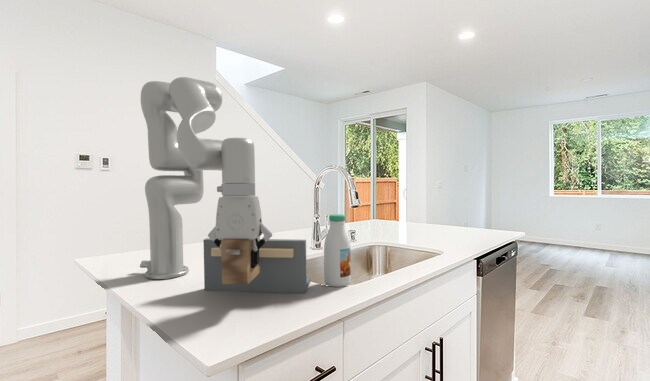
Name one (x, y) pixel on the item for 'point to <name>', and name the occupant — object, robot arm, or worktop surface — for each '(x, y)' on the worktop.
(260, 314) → the worktop surface
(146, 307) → the worktop surface
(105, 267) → the worktop surface
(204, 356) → the worktop surface
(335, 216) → the milk bottle
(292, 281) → the wall board
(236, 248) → the cabinet
